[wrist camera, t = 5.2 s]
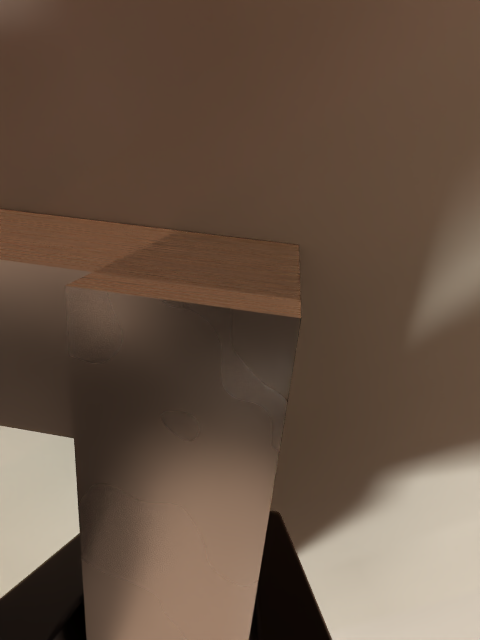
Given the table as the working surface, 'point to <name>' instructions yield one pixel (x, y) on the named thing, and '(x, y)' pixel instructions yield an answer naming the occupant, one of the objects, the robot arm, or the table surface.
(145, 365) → the pale grey angled bracket
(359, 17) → the table surface
